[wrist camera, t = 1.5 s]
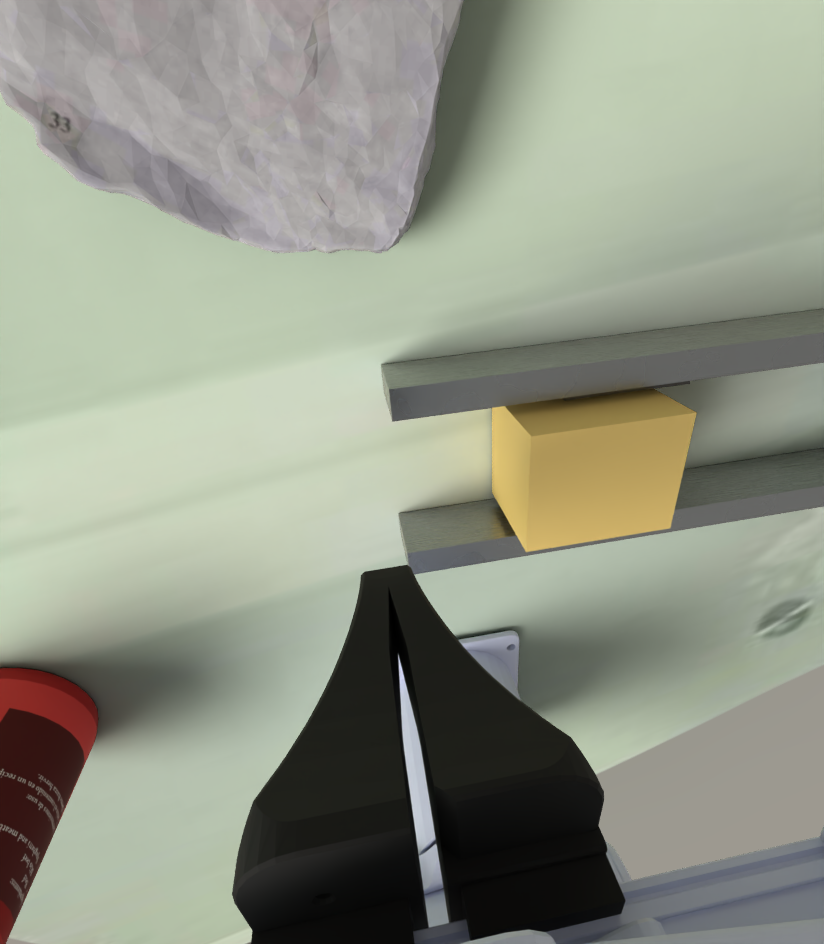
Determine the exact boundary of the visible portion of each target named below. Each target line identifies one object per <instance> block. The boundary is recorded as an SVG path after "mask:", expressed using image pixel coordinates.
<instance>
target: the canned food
mask: <svg viewBox="0 0 824 944" xmlns="http://www.w3.org/2000/svg"><path fill="white" fill-rule="evenodd" d="M97 726H98V711H97V708H96V706H95V704H94V702H93V700H92V699H91V698H90V697H89V695H88V694H87V693H86V692H84V691H83V690H82V689H81V688H79V687H78V686H77V685H75V684H74V683H72V682H70V681H68V680H66V679H64V678H62V677H59V676H57V675H54V674H51V673H47V672H43V671H39V670H33V669H24V668H0V944H6V942H7V939H8V937H9V935H10V932H11V930H12V928H13V926H14V923H15V921H16V919H17V917H18V914H19V912H20V910H21V908H22V905H23V903H24V901H25V898H26V896H27V894H28V892H29V889H30V887H31V885H32V883H33V880H34V878H35V876H36V873H37V871H38V869H39V867H40V864H41V862H42V860H43V858H44V855H45V853H46V851H47V849H48V846H49V844H50V842H51V839H52V837H53V835H54V833H55V830H56V828H57V826H58V824H59V821H60V819H61V817H62V814H63V812H64V810H65V808H66V805H67V803H68V801H69V799H70V796H71V794H72V792H73V790H74V787H75V785H76V783H77V780H78V778H79V776H80V774H81V771H82V769H83V767H84V765H85V762H86V760H87V758H88V756H89V753H90V751H91V749H92V746H93V744H94V742H95V738H96V734H97Z"/></svg>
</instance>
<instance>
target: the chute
mask: <svg viewBox="0 0 824 944" xmlns="http://www.w3.org/2000/svg"><path fill="white" fill-rule="evenodd" d="M823 362H824V309H819V310H811V311H803V312H795V313H787V314H779V315H771V316H763V317H755V318H747V319H739V320H731V321H723V322H715V323H707V324H700V325H692V326H684V327H676V328H668V329H660V330H652V331H644V332H636V333H628V334H620V335H612V336H604V337H596V338H588V339H580V340H573V341H565V342H557V343H549V344H541V345H533V346H525V347H517V348H509V349H501V350H493V351H485V352H477V353H469V354H461V355H454V356H446V357H438V358H430V359H422V360H414V361H406V362H398V363H390V364H382V365H381V369H382V378H383V386H384V394H385V397H386V401H387V404H388V408H389V411H390V415H391V418H392V421H400V420H407V419H414V418H421V417H429V416H436V415H443V414H451V413H458V412H465V411H473V410H480V409H487V408H495V407H502V406H509V405H516V404H524V403H531V402H538V401H546V400H553V399H560V398H562V399H563V400H564V401H566V400H574V399H581V398H588V397H596V396H603V395H610V394H617V393H625V392H632V391H639V390H646V389H654V388H661V387H668V386H676V385H683V384H690V381H692V380H699V379H706V378H714V377H721V376H728V375H736V374H743V373H750V372H758V371H765V370H772V369H779V368H787V367H794V366H801V365H809V364H816V363H823ZM823 506H824V448H820V449H813V450H807V451H800V452H794V453H788V454H781V455H775V456H768V457H762V458H755V459H749V460H742V461H736V462H729V463H723V464H716V465H710V466H703V467H697V468H690V469H684V471H683V475H682V479H681V484H680V488H679V492H678V497H677V501H676V505H675V510H674V514H673V519H672V523H671V527H670V528H669V529H663V530H657V531H651V532H645V533H639V534H633V535H627V536H621V537H615V538H609V539H603V540H597V541H590V542H584V543H578V544H572V545H566V546H560V547H554V548H548V549H542V550H536V551H530V552H526V551H525V549H524V548H523V546H522V544H521V542H520V541H519V539H518V537H517V535H516V534H515V532H514V530H513V528H512V527H511V525H510V523H509V521H508V520H507V518H506V516H505V514H504V512H503V511H502V509H501V507H500V505H499V504H498V502H497V500H496V499H489V500H483V501H476V502H470V503H463V504H457V505H450V506H444V507H437V508H431V509H424V510H418V511H411V512H405V513H399V521H400V530H401V536H402V541H403V546H404V550H405V555H406V560H407V564H408V566H409V567H411V569H412V571H413V574H419V573H425V572H431V571H437V570H443V569H449V568H455V567H461V566H467V565H473V564H479V563H485V562H491V561H497V560H503V559H509V558H515V557H521V556H528V555H534V554H540V553H546V552H552V551H558V550H564V549H570V548H576V547H582V546H588V545H594V544H600V543H606V542H612V541H618V540H624V539H630V538H636V537H642V536H648V535H654V534H660V533H666V532H672V531H678V530H684V529H690V528H696V527H702V526H708V525H714V524H720V523H726V522H732V521H738V520H744V519H750V518H756V517H762V516H768V515H774V514H780V513H786V512H792V511H798V510H804V509H811V508H817V507H823Z"/></svg>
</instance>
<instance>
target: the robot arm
mask: <svg viewBox="0 0 824 944" xmlns="http://www.w3.org/2000/svg"><path fill="white" fill-rule="evenodd" d="M518 662H519V636H518V634H517V633H516V632H515V631H504V632H499V633H493V634H488V635H482V636H477V637H471V638H465V639H460V640H457V638H456V637H455V636H454V635H453V633H452V632H451V631H450V630H449V628H448V627H447V626H446V625H445V623H444V622H443V621H442V619H441V618H440V616H439V615H438V614H437V612H436V611H435V609H434V608H433V607H432V605H431V604H430V602H429V601H428V599H427V597H426V596H425V594H424V592H423V591H422V589H421V587H420V586H419V584H418V582H417V580H416V578H415V576H414V574H413V571H412V569H411V567H409V566H408V565H404V566H397V567H391V568H385V569H379V570H373V571H367V572H364V573H363V574H362V575H361V583H360V590H359V595H358V600H357V604H356V608H355V612H354V615H353V619H352V622H351V625H350V629H349V632H348V635H347V638H346V640H345V643H344V646H343V648H342V651H341V654H340V656H339V659H338V661H337V664H336V666H335V668H334V671H333V673H332V675H331V677H330V680H329V682H328V684H327V686H326V688H325V690H324V692H323V694H322V696H321V698H320V700H319V702H318V703H317V705H316V707H315V709H314V711H313V713H312V715H311V716H310V718H309V720H308V722H307V723H306V725H305V727H304V728H303V730H302V732H301V733H300V735H299V736H298V738H297V739H296V741H295V743H294V744H293V746H292V747H291V749H290V751H289V752H288V754H287V755H286V757H285V758H284V760H283V761H282V763H281V764H280V766H279V767H278V768H277V770H276V771H275V772H274V774H273V775H272V777H271V778H270V779H269V781H268V782H267V783H266V785H265V786H264V787H263V789H262V790H261V792H260V793H259V794H258V796H257V797H256V798H255V800H254V801H253V804H252V807H251V810H250V813H249V816H248V819H247V822H246V825H245V828H244V832H243V835H242V839H241V844H240V847H239V851H238V857H237V863H236V870H235V877H234V884H233V892H232V896H233V899H234V902H235V904H236V906H237V907H238V909H239V910H240V912H241V913H242V915H243V917H244V918H245V920H246V921H247V923H248V924H249V926H250V927H251V929H252V930H253V932H252V941H251V944H824V827H823V829H822V831H821V836H819V837H815V838H811V839H806V840H802V841H798V842H794V843H789V844H785V845H781V846H776V847H772V848H768V849H764V850H760V851H755V852H751V853H747V854H742V855H738V856H734V857H730V858H725V859H721V860H717V861H713V862H708V863H704V864H699V865H695V866H691V867H687V868H682V869H678V870H674V871H670V872H665V873H661V874H657V875H653V876H648V877H644V878H640V879H635V880H631V877H630V876H629V873H628V871H627V870H626V868H625V866H624V864H623V862H622V860H621V859H620V857H619V855H618V853H617V852H616V850H615V849H614V848H613V846H611V845H610V844H609V843H607V842H605V840H604V837H603V835H602V833H601V831H600V828H599V826H598V824H599V820H600V816H601V811H602V806H603V802H604V791H603V789H602V788H601V785H600V783H599V781H598V778H597V777H596V775H595V773H594V771H593V770H592V768H591V766H590V765H589V763H588V761H587V760H586V758H585V757H584V755H583V754H582V752H581V751H580V749H579V748H578V747H577V745H576V744H575V742H574V741H573V740H572V738H571V737H570V736H568V735H567V734H565V733H564V732H562V731H561V730H559V729H558V728H556V727H555V726H553V725H552V724H551V723H549V722H548V721H546V720H545V719H544V718H542V717H541V716H540V715H538V714H537V713H536V712H534V711H533V710H532V709H530V708H529V707H528V706H527V705H525V704H524V703H523V702H522V701H521V698H520V696H519V693H518V691H517V686H518Z"/></svg>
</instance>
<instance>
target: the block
mask: <svg viewBox="0 0 824 944" xmlns="http://www.w3.org/2000/svg"><path fill="white" fill-rule="evenodd" d="M696 414H697V413H696V412H695V411H693V410H691V409H689V408H687V407H686V406H684V405H682V404H680V403H678V402H677V401H675V400H673V399H671V398H669V397H668V396H666V395H664V394H662V393H660V392H659V391H657V390H655V389H646V390H639V391H632V392H625V393H617V394H610V395H603V396H596V397H588V398H581V399H574V400H566V401H564V400H563V399H562V398H560V399H553V400H546V401H538V402H531V403H524V404H516V405H509V406H502V407H495V408H492V493H493V495H494V497H495V498H496V500H497V502H498V504H499V505H500V507H501V509H502V511H503V512H504V514H505V516H506V518H507V520H508V521H509V523H510V525H511V527H512V528H513V530H514V532H515V534H516V535H517V537H518V539H519V541H520V542H521V544H522V546H523V548H524V549H525V551H526V552H530V551H536V550H542V549H548V548H554V547H560V546H566V545H572V544H578V543H584V542H590V541H597V540H603V539H609V538H615V537H621V536H627V535H633V534H639V533H645V532H651V531H657V530H663V529H669V528H670V527H671V523H672V519H673V514H674V510H675V505H676V501H677V497H678V492H679V488H680V484H681V479H682V475H683V471H684V466H685V462H686V458H687V453H688V449H689V444H690V440H691V436H692V431H693V427H694V423H695V418H696Z"/></svg>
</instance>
